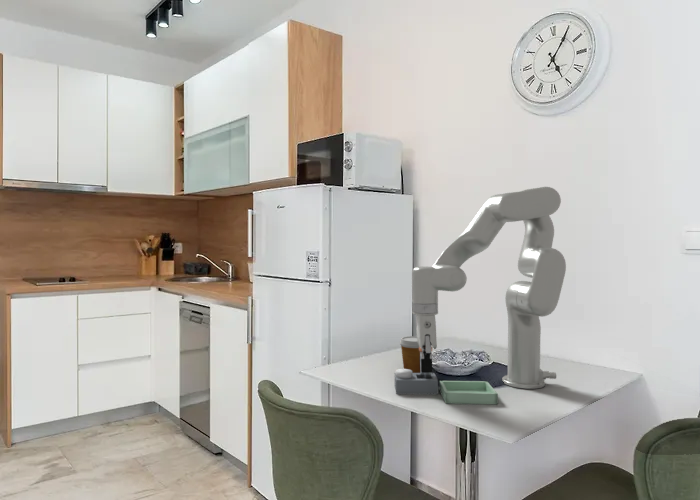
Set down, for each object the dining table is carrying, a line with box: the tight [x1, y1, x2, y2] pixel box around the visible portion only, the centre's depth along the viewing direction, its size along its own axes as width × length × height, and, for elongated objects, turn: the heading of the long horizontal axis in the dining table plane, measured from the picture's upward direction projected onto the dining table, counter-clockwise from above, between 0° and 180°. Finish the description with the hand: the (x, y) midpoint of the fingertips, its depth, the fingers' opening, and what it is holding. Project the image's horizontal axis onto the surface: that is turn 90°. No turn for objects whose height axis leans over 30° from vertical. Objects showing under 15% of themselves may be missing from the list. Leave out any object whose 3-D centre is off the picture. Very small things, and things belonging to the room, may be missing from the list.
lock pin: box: [419, 346, 434, 379], centre depth 151 cm, size 4×4×11 cm
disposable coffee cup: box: [399, 335, 420, 373], centre depth 167 cm, size 10×10×12 cm
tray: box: [438, 380, 499, 405], centre depth 145 cm, size 14×12×3 cm
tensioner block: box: [394, 368, 439, 395], centre depth 152 cm, size 12×8×6 cm, turn 88°
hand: (425, 369), depth 152 cm, fingers closed on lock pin, 3 cm apart
